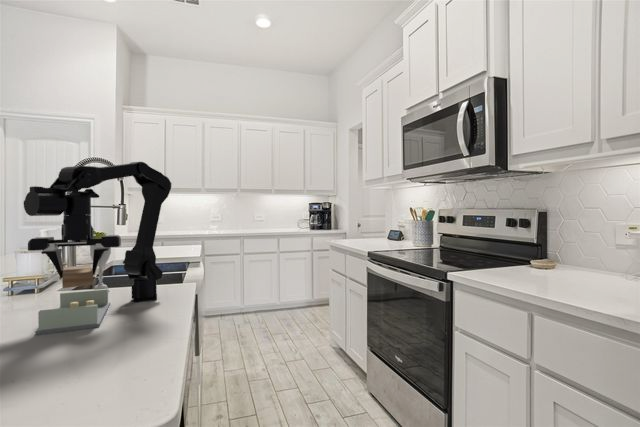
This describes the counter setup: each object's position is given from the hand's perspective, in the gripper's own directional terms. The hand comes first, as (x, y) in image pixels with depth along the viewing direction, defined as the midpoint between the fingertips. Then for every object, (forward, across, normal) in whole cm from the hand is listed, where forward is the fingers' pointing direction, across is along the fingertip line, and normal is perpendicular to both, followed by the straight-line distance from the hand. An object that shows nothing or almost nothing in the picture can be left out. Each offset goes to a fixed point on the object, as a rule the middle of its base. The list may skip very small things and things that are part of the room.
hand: (78, 276), depth 86 cm
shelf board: (+1, 0, 0) cm, 1 cm away
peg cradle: (+11, 0, 0) cm, 11 cm away
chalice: (+11, -1, -30) cm, 32 cm away
